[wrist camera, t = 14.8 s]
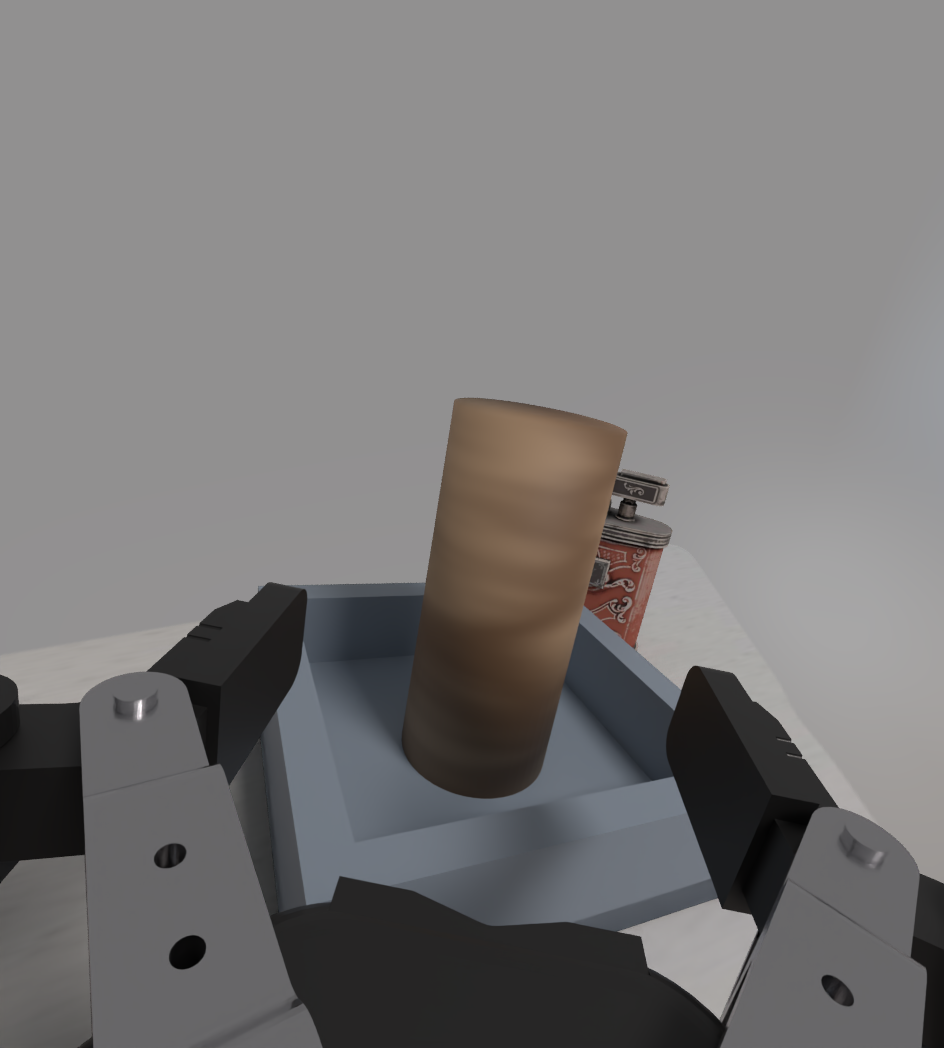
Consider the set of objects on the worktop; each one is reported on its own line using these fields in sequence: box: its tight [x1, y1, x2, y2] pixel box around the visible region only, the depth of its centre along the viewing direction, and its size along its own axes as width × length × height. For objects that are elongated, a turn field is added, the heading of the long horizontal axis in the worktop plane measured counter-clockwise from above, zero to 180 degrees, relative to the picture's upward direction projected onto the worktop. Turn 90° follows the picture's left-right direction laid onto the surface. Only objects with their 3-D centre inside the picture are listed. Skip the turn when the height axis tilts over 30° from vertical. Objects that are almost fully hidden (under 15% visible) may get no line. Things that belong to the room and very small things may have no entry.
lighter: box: [584, 469, 672, 651], centre depth 30 cm, size 8×3×10 cm, turn 70°
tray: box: [258, 583, 718, 932], centre depth 21 cm, size 14×14×4 cm
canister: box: [402, 398, 627, 799], centre depth 19 cm, size 5×5×12 cm
